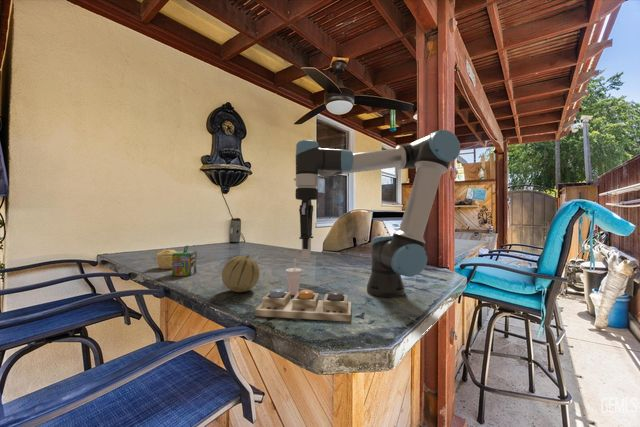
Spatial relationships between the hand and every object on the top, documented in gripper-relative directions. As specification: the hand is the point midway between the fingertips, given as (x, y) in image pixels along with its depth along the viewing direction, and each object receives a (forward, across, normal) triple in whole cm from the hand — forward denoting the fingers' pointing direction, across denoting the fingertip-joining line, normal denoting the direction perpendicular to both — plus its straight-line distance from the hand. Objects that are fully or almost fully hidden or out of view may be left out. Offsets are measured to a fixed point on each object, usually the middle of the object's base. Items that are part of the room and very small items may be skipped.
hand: (306, 258), depth 90 cm
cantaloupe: (+18, -16, -30) cm, 39 cm away
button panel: (+17, +2, 0) cm, 17 cm away
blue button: (+14, 0, -10) cm, 17 cm away
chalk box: (+18, -40, -71) cm, 84 cm away
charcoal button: (+14, 0, +10) cm, 17 cm away
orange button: (+14, 0, 0) cm, 14 cm away
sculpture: (+18, -52, -89) cm, 105 cm away
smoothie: (+18, -16, -8) cm, 25 cm away
